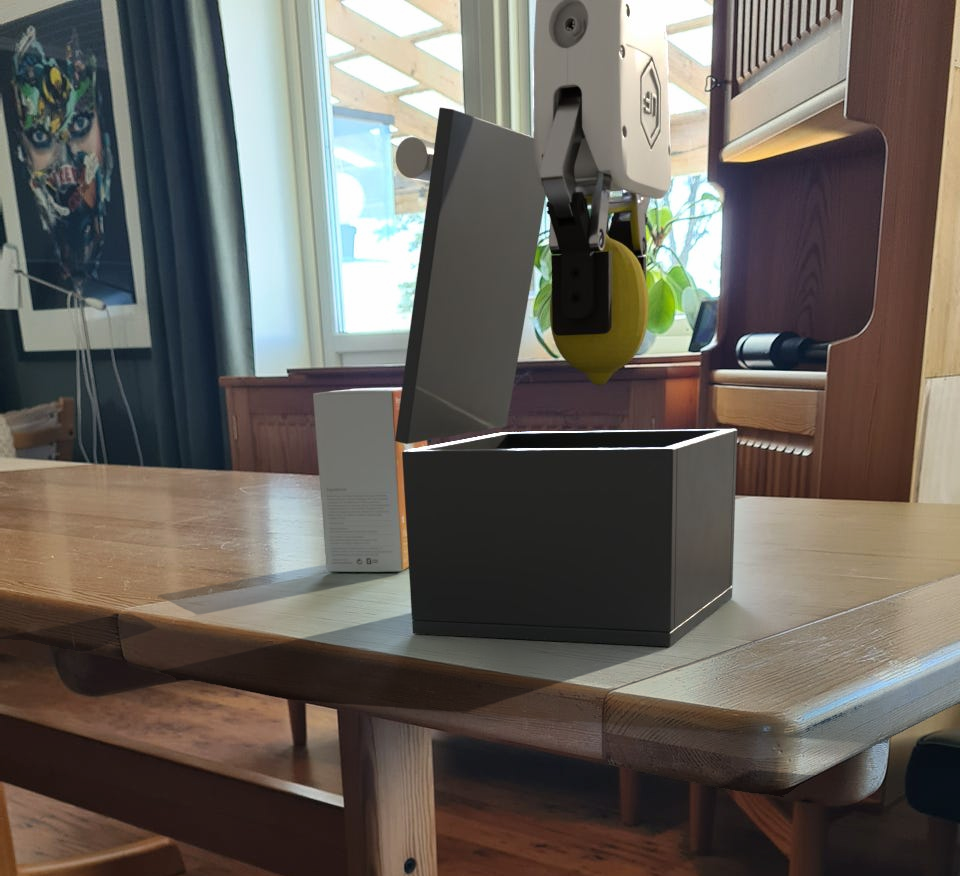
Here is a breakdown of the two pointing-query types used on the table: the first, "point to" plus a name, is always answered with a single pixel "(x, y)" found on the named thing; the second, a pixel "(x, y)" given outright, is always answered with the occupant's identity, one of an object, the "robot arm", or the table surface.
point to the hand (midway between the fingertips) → (600, 330)
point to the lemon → (628, 321)
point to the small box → (362, 479)
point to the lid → (468, 275)
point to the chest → (571, 534)
